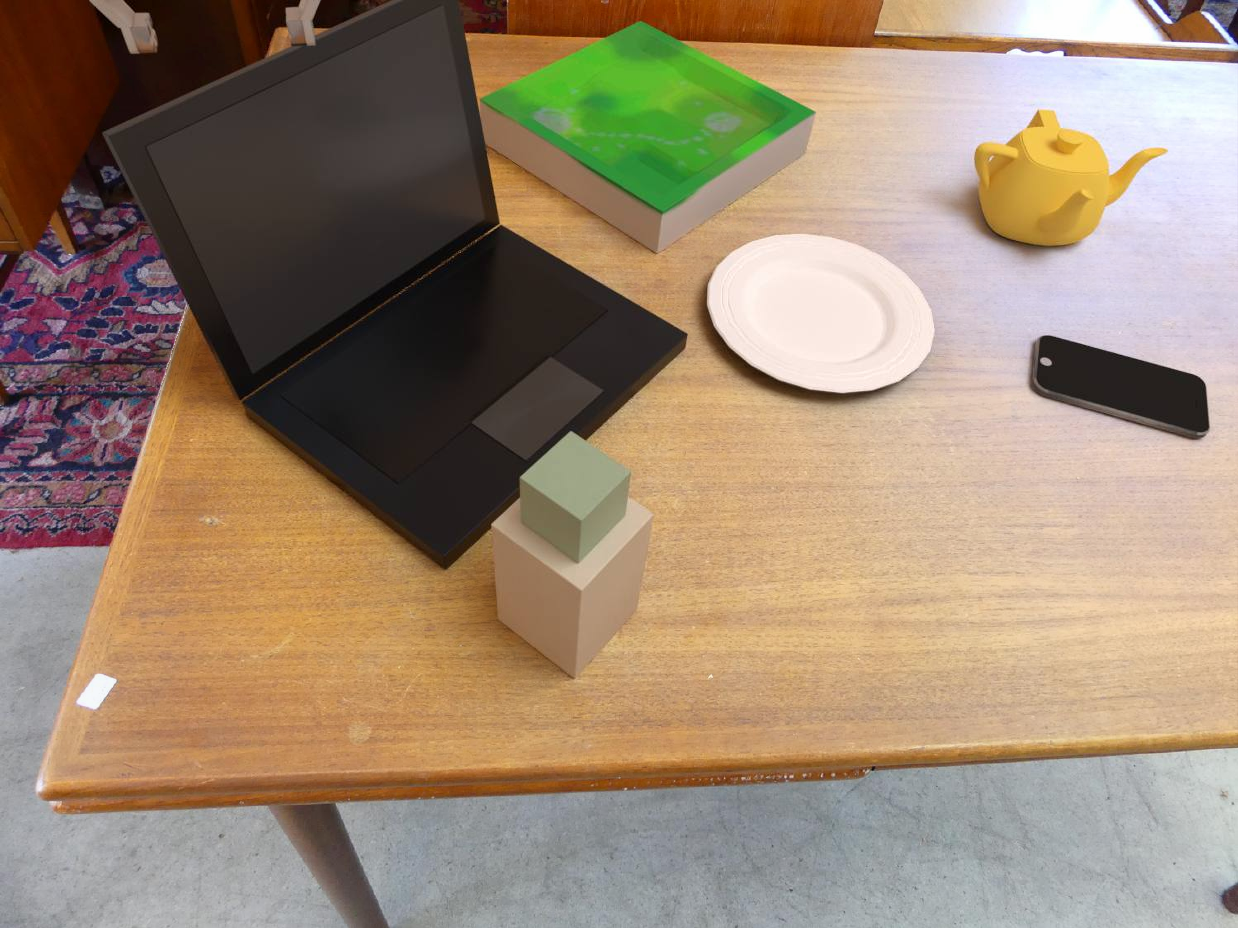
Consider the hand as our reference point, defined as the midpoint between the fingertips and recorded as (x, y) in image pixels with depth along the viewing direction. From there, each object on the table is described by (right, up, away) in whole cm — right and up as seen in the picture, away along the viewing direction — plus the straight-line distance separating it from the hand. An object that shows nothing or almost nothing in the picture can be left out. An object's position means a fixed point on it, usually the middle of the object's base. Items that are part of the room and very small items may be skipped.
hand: (225, 45), depth 57 cm
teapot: (+69, -1, +39) cm, 79 cm away
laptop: (+13, -19, +20) cm, 30 cm away
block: (+22, -30, -2) cm, 37 cm away
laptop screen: (+4, -5, +14) cm, 15 cm away
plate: (+43, -13, +27) cm, 53 cm away
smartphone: (+69, -20, +25) cm, 76 cm away
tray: (+28, +8, +42) cm, 51 cm away
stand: (+21, -37, +7) cm, 43 cm away
